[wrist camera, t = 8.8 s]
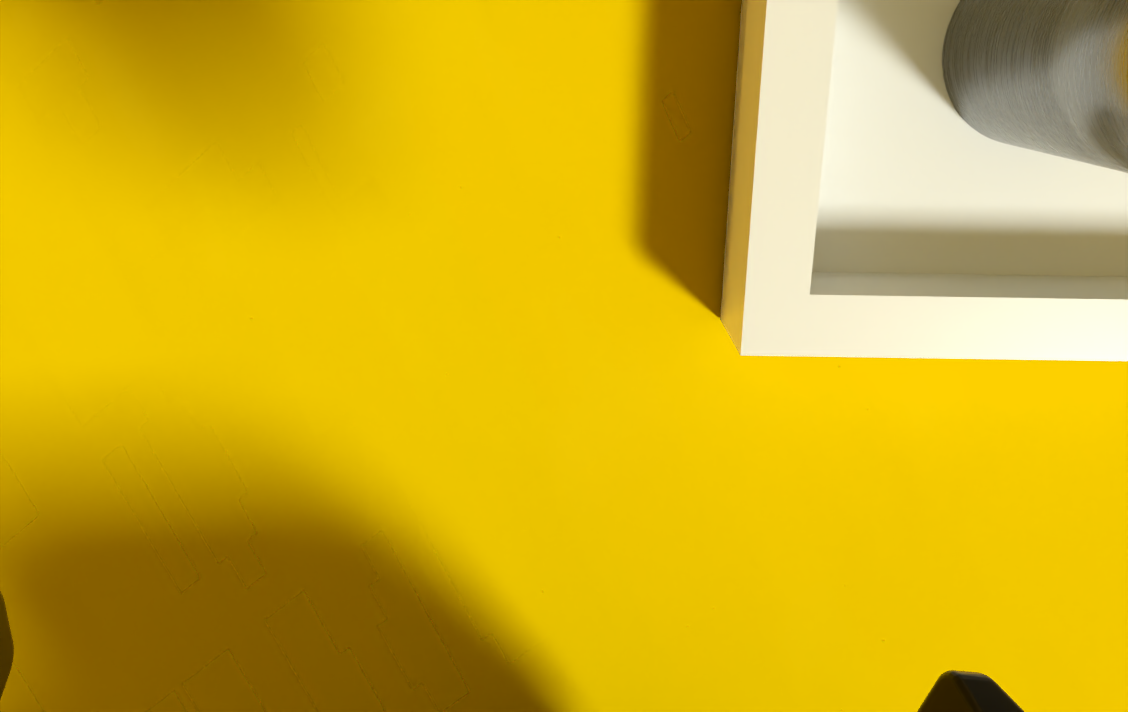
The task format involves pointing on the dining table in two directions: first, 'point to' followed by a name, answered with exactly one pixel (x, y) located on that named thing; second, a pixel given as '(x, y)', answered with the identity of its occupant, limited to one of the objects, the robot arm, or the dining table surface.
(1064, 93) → the strut
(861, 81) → the bin tray
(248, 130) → the dining table surface
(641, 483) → the dining table surface
